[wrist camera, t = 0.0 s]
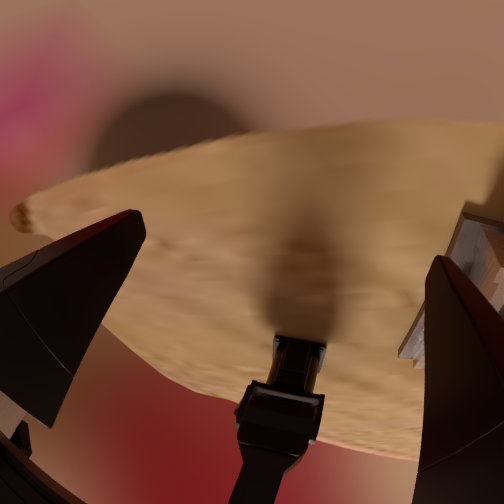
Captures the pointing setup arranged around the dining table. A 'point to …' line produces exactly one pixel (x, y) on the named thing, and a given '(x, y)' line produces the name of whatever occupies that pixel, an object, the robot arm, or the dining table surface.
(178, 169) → the dining table surface
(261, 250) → the dining table surface
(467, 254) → the grey metal channel
